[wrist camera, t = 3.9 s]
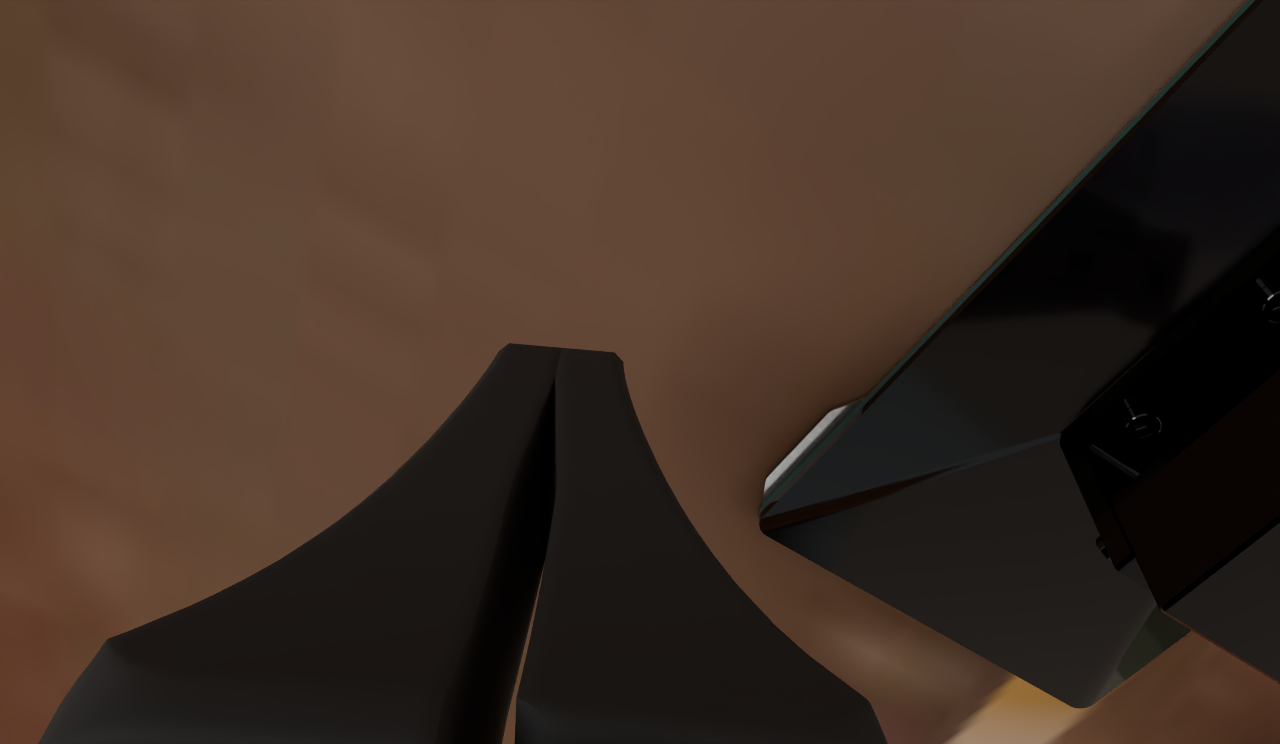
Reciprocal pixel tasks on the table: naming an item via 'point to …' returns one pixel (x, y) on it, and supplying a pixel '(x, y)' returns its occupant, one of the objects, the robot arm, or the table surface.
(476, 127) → the table surface
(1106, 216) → the build plate
